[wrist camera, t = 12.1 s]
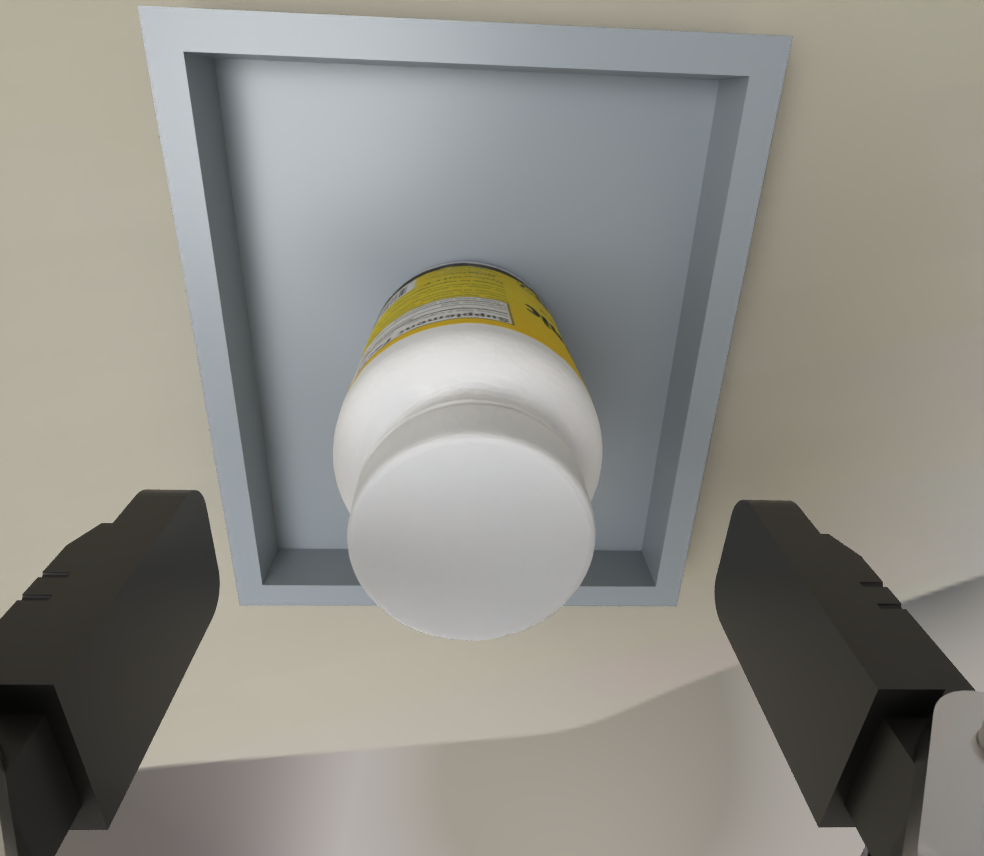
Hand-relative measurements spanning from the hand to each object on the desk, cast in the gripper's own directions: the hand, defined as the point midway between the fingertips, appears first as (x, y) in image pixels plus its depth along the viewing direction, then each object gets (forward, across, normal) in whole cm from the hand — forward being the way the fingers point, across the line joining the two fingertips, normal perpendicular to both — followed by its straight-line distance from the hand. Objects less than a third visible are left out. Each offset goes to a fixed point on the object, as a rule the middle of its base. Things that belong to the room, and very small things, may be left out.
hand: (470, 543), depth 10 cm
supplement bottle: (+10, 0, 0) cm, 10 cm away
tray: (+11, 0, 0) cm, 11 cm away
